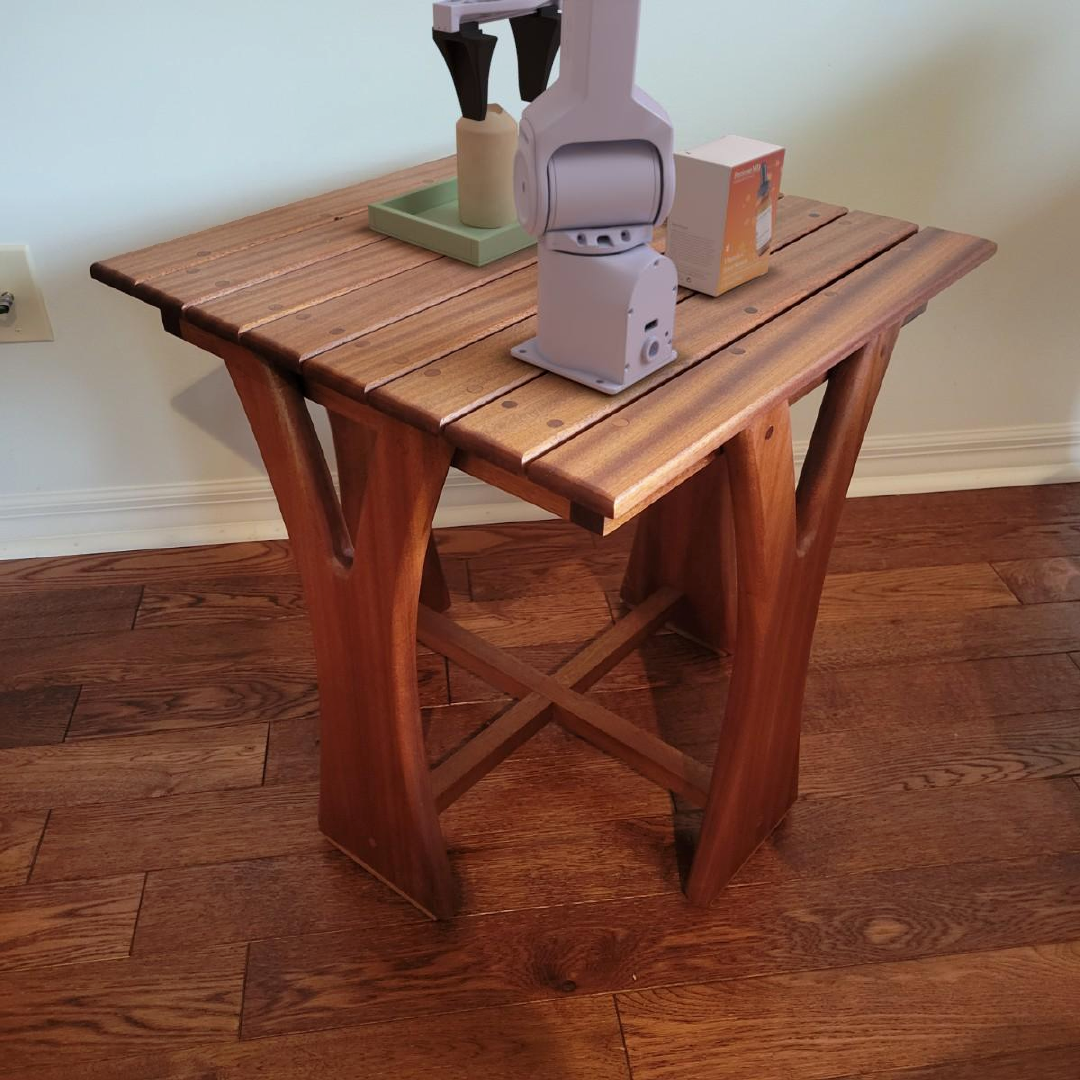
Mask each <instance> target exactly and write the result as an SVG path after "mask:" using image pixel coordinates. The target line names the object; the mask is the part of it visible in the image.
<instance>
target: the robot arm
mask: <svg viewBox="0 0 1080 1080" xmlns="http://www.w3.org/2000/svg"><path fill="white" fill-rule="evenodd" d="M641 10H642V0H440V1H437V2H433V3H432V22H433V24H432V25H433V26H431V39H432V41H433V42H434V45H436V47H437V49H438V50H439V53H440V54H441V56H442V58H443V61H444V62H445V64H446V67H447V69H448V71H449V75H450V77H451V80H452V82H453V83H452V84H453V86H454V90H455V93H456V97H457V101H458V105H459V108H460V112H461V116H463V118H467V119H471V120H475V121H483V120H485V118H486V113H487V104H489V103H488V100H489V98H488V97H489V78H490V71H491V65H492V60H493V56H494V53H495V49H496V45H497V43H498V40H499V38H498V36H496V35H493V34H488V33H483V32H484V31H483V29H482V28H480V25H484V24H488V23H493V22H498V21H503V20H507V19H508V22H509V26H510V29H511V32H512V37H513V41H514V47H515V52H516V59H517V78H518V79H517V80H518V91H519V97H520V101H521V102H526V103H529V104H528V105H527V106H526V107H525V108H524V109H523V110H522V112H521V119H519V122H518V143H517V149H516V151H515V155H514V161H513V192H514V201H515V207H516V212H517V216H518V220H519V222H520V224H521V226H522V227H523V228H524V229H525V230H526V231H527V233H528V234H529V235H530V236H531V237H537V238H538V243H537V260H536V261H537V262H536V263H537V265H536V266H537V273H536V279H537V280H536V335H535V336H534V337H532V338H529V339H527V340H525V341H523V342H521V343H519V344H517V345H515V346H513V347H512V348H510V355H511V356H512V357H514V358H516V359H519V360H521V361H524V362H525V363H526V362H527V363H529V364H531V365H534V366H537V367H539V368H542V369H543V370H547V371H549V372H552V373H554V374H557V375H559V376H561V377H565V378H567V379H569V380H572V381H575V382H577V383H580V384H582V385H585V386H587V387H590V388H592V389H595V390H597V391H600V392H602V393H605V394H607V395H616V394H619V393H620V392H622V391H624V390H626V389H627V388H629V387H630V386H632V385H633V384H635V383H637V382H639V381H640V380H642V379H644V378H645V377H647V376H649V375H651V374H653V373H654V372H656V371H657V370H659V369H661V368H662V367H664V366H666V365H667V364H669V363H671V362H673V361H675V360H676V359H678V352H677V350H675V349H673V342H674V332H675V321H676V320H675V319H676V309H677V300H678V299H677V298H678V289H679V288H678V287H679V285H678V276H677V271H676V267H675V265H674V263H673V262H672V260H670V259H669V258H667V257H665V256H664V255H663V254H661V253H660V252H658V251H657V250H655V249H653V247H652V246H651V245H649V243H652V242H653V234H654V232H653V231H654V229H657V228H660V227H661V226H662V225H663V224H664V223H665V221H666V220H667V218H668V215H669V213H670V211H671V208H672V205H673V201H674V195H675V165H674V159H673V154H674V138H675V130H674V125H673V123H672V121H671V119H670V116H669V114H668V112H667V111H666V110H665V108H664V107H663V106H662V105H661V104H660V103H659V102H658V101H657V100H656V99H655V98H653V97H652V96H650V95H649V94H648V93H647V92H646V91H645V90H644V89H642V88H641V87H640V86H638V85H637V84H636V83H635V82H636V74H637V73H636V72H637V59H638V47H639V35H640V23H641ZM559 11H561V12H559ZM558 51H559V67H558V68H559V71H558V78H556V80H555V81H554V82H553V83H552V84H551V85H550V86H549V87H548V84H549V80H550V76H551V73H552V69H553V65H554V62H555V59H556V56H557V54H558Z"/></svg>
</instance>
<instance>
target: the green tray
mask: <svg viewBox="0 0 1080 1080" xmlns="http://www.w3.org/2000/svg"><path fill="white" fill-rule="evenodd" d="M367 211H368V212H367V214H368V224H369V226H368V227H369V230H372V231H374V232H377V233H379V234H383V235H385V236H388V237H390V238H394V239H397V240H399V241H403V242H405V243H408V244H412V245H414V246H417V247H420V248H422V249H426V250H429V251H432V252H435V253H438V254H440V255H443V256H447V257H449V258H452V259H455V260H458V261H460V262H463V263H467V264H469V265H472V266H475V267H477V268H480V267H483V266H484V265H487V264H489V263H492V262H495V261H497V260H500V259H502V258H504V257H506V256H509V255H511V254H513V253H516V252H519V251H521V250H523V249H525V248H528V247H530V246H533V245H535V244H538V238H537V237H531V236H530V235H529V234H528V233H527V231H526V230H525V229H524V228H523V227H522V226H521V224H520V222H519V220H518V216H517V220H516V221H515V222H514V223H511V224H509V225H506V226H503V227H497V228H480V227H473V226H469V225H466V224H464V223H463V222H461V221H460V219H459V211H458V181H457V174H455V175H452V176H449V177H447V178H443V179H441V180H437V181H434V182H431V183H428V184H425V185H422V186H419V187H416V188H413V189H410V190H407V191H404V192H401V193H398V194H395V195H392V196H389V197H387V198H383V199H380V200H377V201H374V202H372V203H368V204H367Z"/></svg>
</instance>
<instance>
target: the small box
mask: <svg viewBox="0 0 1080 1080" xmlns="http://www.w3.org/2000/svg"><path fill="white" fill-rule="evenodd" d="M785 155H786V147H784V146H782V145H778V144H773V143H769V142H765V141H761V140H757V139H752V138H748V137H744V136H740V135H736V134H731V133H729V134H726V135H724V136H722V137H720V138H717V139H715V140H712V141H709V142H706V143H703V144H700V145H698V146H695V147H691V148H688V149H685V150H682V151H681V150H680V151H676V152H673V159H674V165H675V195H674V201H673V205H672V208H671V211H670V213H669V215H668V216H667V217H666V231H665V232H666V233H665V243H664V255H663V256H665V257H667V258H669V259H670V260H672V262H673V263H674V265H675V267H676V271H677V276H678V286H681V287H684V288H687V289H691V290H693V291H697V292H700V293H703V294H706V295H709V296H712V297H718V296H720V295H723V294H724V293H725V292H728V291H729V290H732V289H733V288H736V287H737V286H740V285H742V284H744V283H746V282H749V281H751V280H753V279H756V278H757V277H760V276H763V275H765V274H767V273H768V271H769V265H770V258H771V251H772V243H773V239H774V238H773V237H774V230H775V224H776V217H777V209H778V201H779V196H780V190H781V182H782V177H783V176H782V175H783V169H784V162H785Z"/></svg>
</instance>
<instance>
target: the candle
mask: <svg viewBox="0 0 1080 1080" xmlns="http://www.w3.org/2000/svg"><path fill="white" fill-rule="evenodd" d="M518 132H519V122H517V120H516V118H514V117H513V115H511V113H509V112H508V111H506V110H505V109H504V108H503V107H502V106H501V105H500V104H499V103H496V102H494V103H493V102H492V103H487V113H486V118H485V120H483V121H475V120H471V119H467V118H463V116H462V115H461V117H459V119H458V120H457V121H456V122H455V142H456V143H455V145H456V147H455V149H456V175H457V181H458V211H459V219H460V221H461V222H463V223H464V224H466V225H469V226H473V227H480V228H497V227H503V226H506V225H509V224H511V223H514V222H515V221H516V220H517V212H516V207H515V201H514V192H513V161H514V155H515V151H516V149H517V143H518Z"/></svg>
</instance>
